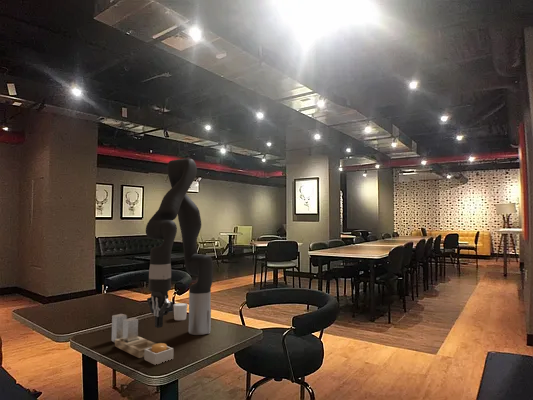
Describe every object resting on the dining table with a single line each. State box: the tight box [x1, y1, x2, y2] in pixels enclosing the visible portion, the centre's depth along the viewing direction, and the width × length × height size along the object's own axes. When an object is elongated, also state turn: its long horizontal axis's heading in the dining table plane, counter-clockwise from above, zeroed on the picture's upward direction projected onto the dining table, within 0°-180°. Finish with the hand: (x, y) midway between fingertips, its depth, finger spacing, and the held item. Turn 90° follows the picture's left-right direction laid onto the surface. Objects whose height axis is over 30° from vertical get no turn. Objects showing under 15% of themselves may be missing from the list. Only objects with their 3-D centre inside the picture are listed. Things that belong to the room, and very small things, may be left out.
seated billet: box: [123, 317, 139, 343], centre depth 135 cm, size 4×4×10 cm
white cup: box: [172, 302, 188, 321], centre depth 173 cm, size 7×7×7 cm
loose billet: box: [111, 313, 128, 343], centre depth 141 cm, size 4×4×10 cm
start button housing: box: [143, 345, 175, 366], centre depth 122 cm, size 7×7×4 cm
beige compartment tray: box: [114, 335, 157, 359], centre depth 131 cm, size 18×8×2 cm, turn 49°
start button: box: [152, 342, 168, 353], centre depth 122 cm, size 5×5×2 cm
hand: (158, 327), depth 122 cm, fingers closed
